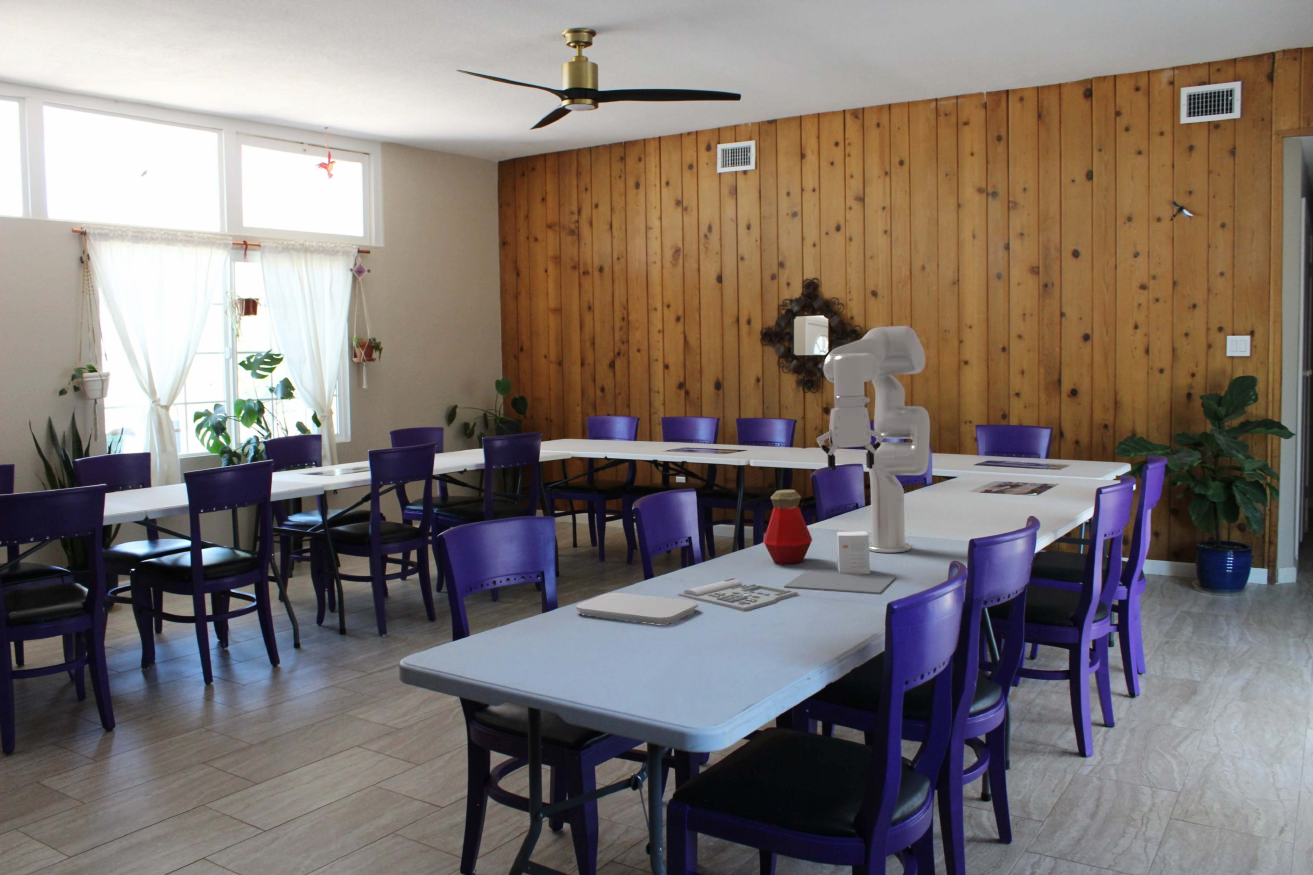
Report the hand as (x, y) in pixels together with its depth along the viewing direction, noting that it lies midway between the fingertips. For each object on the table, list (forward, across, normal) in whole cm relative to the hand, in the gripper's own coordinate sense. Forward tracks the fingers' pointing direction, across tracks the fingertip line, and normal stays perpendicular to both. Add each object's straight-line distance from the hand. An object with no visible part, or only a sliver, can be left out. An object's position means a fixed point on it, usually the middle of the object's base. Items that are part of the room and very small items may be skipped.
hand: (851, 469), depth 253 cm
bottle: (+29, +13, -23) cm, 39 cm away
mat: (+28, +5, +6) cm, 29 cm away
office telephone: (+29, +32, +14) cm, 45 cm away
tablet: (+28, +58, +25) cm, 69 cm away
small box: (+28, -1, -5) cm, 29 cm away
